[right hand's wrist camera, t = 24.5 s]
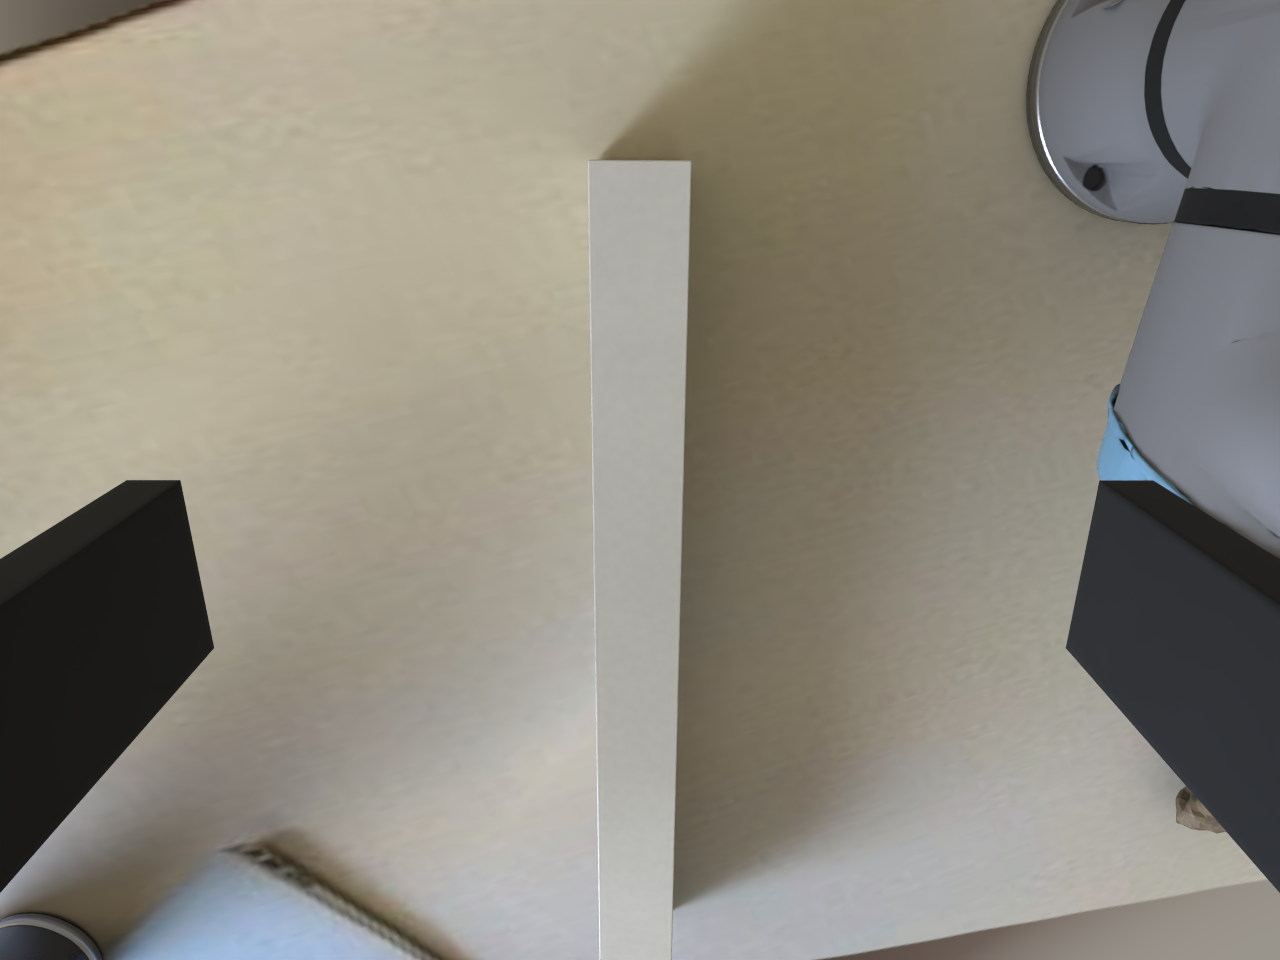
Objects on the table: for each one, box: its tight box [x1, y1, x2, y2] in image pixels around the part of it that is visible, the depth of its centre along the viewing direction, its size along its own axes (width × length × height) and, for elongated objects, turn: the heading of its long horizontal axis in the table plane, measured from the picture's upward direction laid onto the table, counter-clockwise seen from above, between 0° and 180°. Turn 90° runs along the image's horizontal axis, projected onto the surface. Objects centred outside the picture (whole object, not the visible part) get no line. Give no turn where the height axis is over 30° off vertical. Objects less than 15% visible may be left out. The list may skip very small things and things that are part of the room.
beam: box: [588, 160, 692, 960], centre depth 55 cm, size 56×5×8 cm, turn 0°
